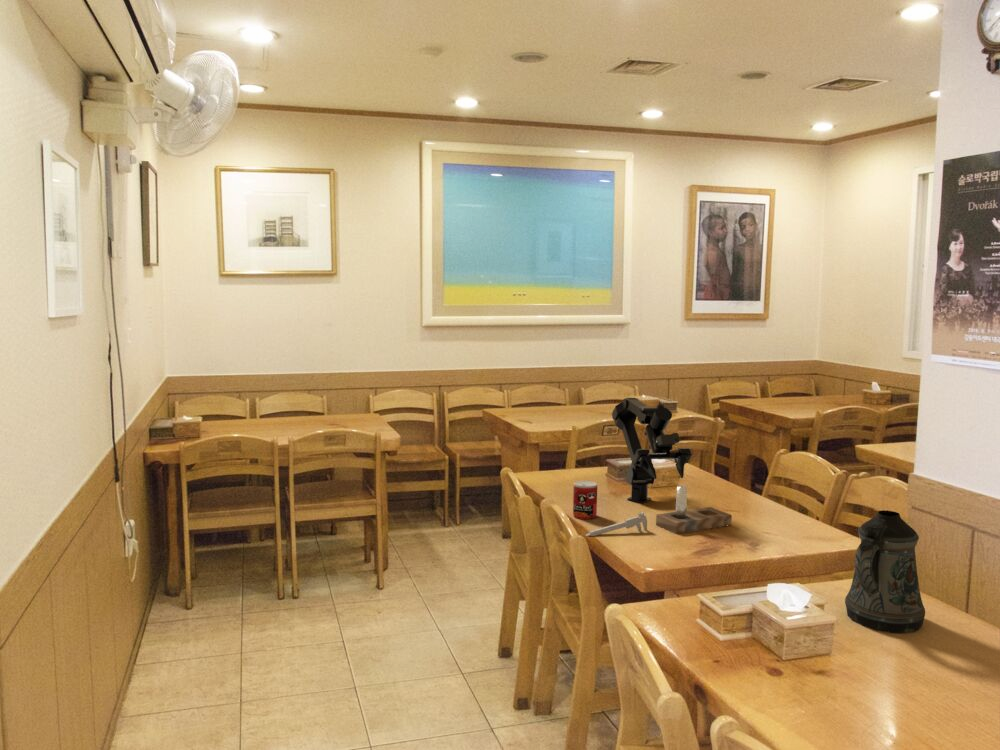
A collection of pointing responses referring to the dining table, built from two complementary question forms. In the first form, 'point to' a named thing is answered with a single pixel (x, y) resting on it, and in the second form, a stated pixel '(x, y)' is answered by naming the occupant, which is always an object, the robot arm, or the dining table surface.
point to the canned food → (585, 499)
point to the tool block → (693, 520)
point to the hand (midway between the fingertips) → (669, 478)
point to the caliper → (623, 525)
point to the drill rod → (681, 502)
